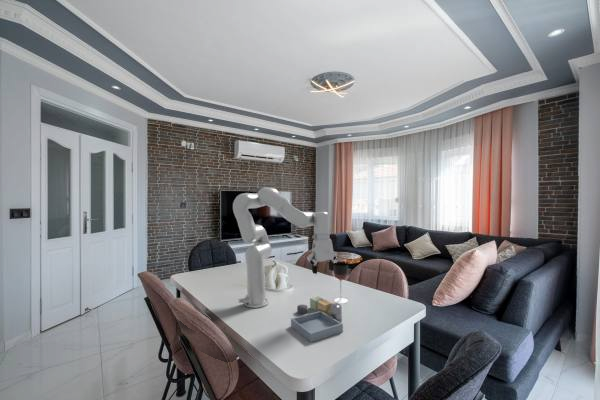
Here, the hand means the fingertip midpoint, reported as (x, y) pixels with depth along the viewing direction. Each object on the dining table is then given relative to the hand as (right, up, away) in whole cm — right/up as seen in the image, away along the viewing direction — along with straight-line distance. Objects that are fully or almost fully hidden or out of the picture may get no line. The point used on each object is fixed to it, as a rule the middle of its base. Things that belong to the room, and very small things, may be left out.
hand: (323, 271), depth 133 cm
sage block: (-3, -20, +6) cm, 21 cm away
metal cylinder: (+5, -20, -9) cm, 23 cm away
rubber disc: (-10, -20, +1) cm, 23 cm away
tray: (-4, -20, -17) cm, 27 cm away
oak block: (+1, -20, -2) cm, 20 cm away
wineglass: (+11, -20, +16) cm, 28 cm away
